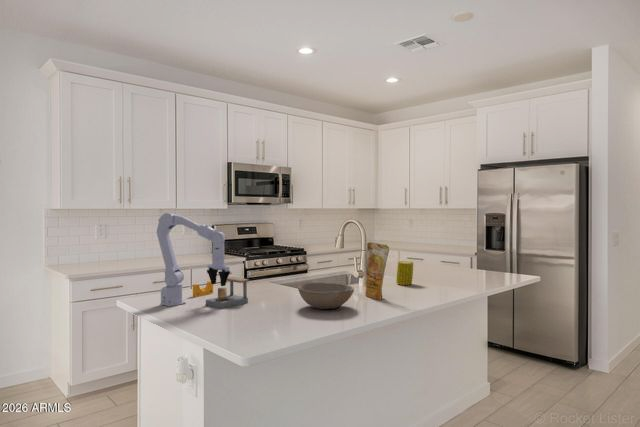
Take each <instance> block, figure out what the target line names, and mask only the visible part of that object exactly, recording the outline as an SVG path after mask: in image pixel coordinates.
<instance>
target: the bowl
mask: <svg viewBox="0 0 640 427" xmlns="http://www.w3.org/2000/svg"><path fill="white" fill-rule="evenodd" d="M297 290H298V292H299V295H300V296H301V299H302V300H303V301H304V302H305V303H306V304H307V305H309V306H311V307H313V308H316V309H318V310H327V309H328V310H332V309H337V308H339V307H341V306H343V305H344V304H345V303H347V302H348V301H349V300H350V299H351V297H352V295H354V294H353V293H354V292H355V289H354V287H353V286H351V285H349V284H345V283H336V282H309V283H303V284H300V285H298V287H297Z"/></svg>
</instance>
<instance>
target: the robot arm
mask: <svg viewBox="0 0 640 427" xmlns="http://www.w3.org/2000/svg"><path fill="white" fill-rule="evenodd" d="M178 225H180V226H181V225H182V226H184V227H186V228H189V229H191V230H193V231H196V233H197V235H198V236H200V237H202V238H204V239H205V240H208V241H210V242H211V243H212V247H211V248H212V249H211V250H212V251H211V253H212V254H211V255H212V256H211V257H212V258H211V260H212V261H211V262H212V263H211V264H207V270H206V274H207V275H208V276H209V281H211V284H213V285H216V284H217V275H219V279H220V286H221V287H226V284H227V282H228V281H227V278H228V277H230V273H231V270H230V266H227V265H226V264H225V240H226V239H227V238H226V233H224V232H223V231H218V229H216V228H215V229H214V228H212V227H210V225H209V224H198V223H197V222H194V221H193V220H191V219H190V218H187V217H185V216H183V215H182V214H177V213H176V212H165V213H163V214H162V215H161V216H160V217H159V218H158V224H157V228H156V235H157V239H158V243H159V247H160V251H161V256H162V258H163V263H164V267H165V269H164V283H165V284H166V285H165V286H163V287H162V288H161V289H160V303H159V305H161V306H165V307H174V306H179V305H183V304H186V303H187V302H186V301H183V283H182V282H183V280H184V277H185V275H184V273H183V272H182V271H181V268H180V266H179V265H178V263H177V260H176V256H175V253H174V249H173V246H172V241H171V237H170V232H171V230H172V229H173V228H174V227H176V226H178Z"/></svg>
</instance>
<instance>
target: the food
mask: <svg viewBox="0 0 640 427" xmlns="http://www.w3.org/2000/svg"><path fill="white" fill-rule="evenodd" d="M413 273H414V261H408V260H401V261H399V260H398V262H397V269H396V281H395V282H396V284H397V285H399V284H400V285H399V286H408V285H410V284H411V285H412V284H413V283H412V282H413V277H414V276H413V275H414V274H413Z"/></svg>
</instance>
